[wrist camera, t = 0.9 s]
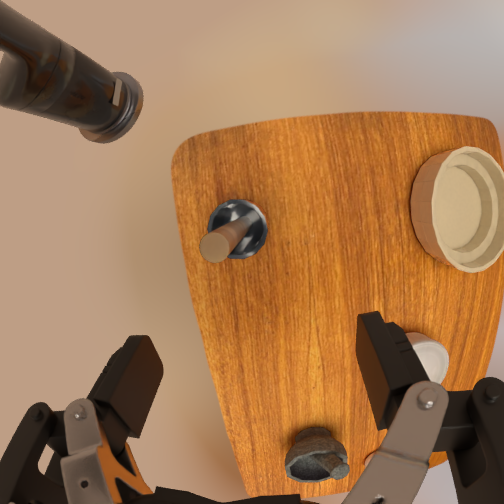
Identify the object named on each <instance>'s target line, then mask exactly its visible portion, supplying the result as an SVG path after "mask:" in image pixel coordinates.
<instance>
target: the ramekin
mask: <svg viewBox="0 0 504 504" xmlns="http://www.w3.org/2000/svg"><path fill="white" fill-rule="evenodd" d="M406 336H407V337H408V340H409V341H410V343H411V345H412V346H413V349H414V350H415V352H416V354H417V356H418V357H419V359H420V361H421V363H422V365H423V367H424V369H425V371H426V373H427V375H428V377H429V379H430V380H431V381H433V382H436V383H438V384H441V382H442V381H443V379H444V377H445V375H446V372H447V369H448V366H449V356H448V353H447V351H446V349H445V347H444V346H443V345H442V344H441V343H439V342H438V341H436V340H433V339H431V338H429V337H427V336H425V335H424V334H421V333H417V332H411V333H406Z"/></svg>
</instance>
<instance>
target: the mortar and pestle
mask: <svg viewBox="0 0 504 504" xmlns="http://www.w3.org/2000/svg"><path fill="white" fill-rule="evenodd" d="M295 441H296V443H295V444H294V445H293V446H292V447H291V449H290V450H289V451H288V453H287V454H286V458H285V470H286V474H287V477H289V478H291V479H294V480H296V481H298V482H321V481H324V480H327V479H330V478H334V479H336V480H338V479H342V478H344V477H345V476H347V474H348V473H349V471H350V469H349V465H348V464H347V453H346V450H345V448H344V446H343V445H342V444H341V443H340V442H338V441H337V440H335V439H334V438H332V437H331V433H330V431H328V430H326V429H325V428H323V427H311V428H308V429H306V430H303V431H301V432H300V433H299V434H298V435H297V436H296V437H295Z"/></svg>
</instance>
